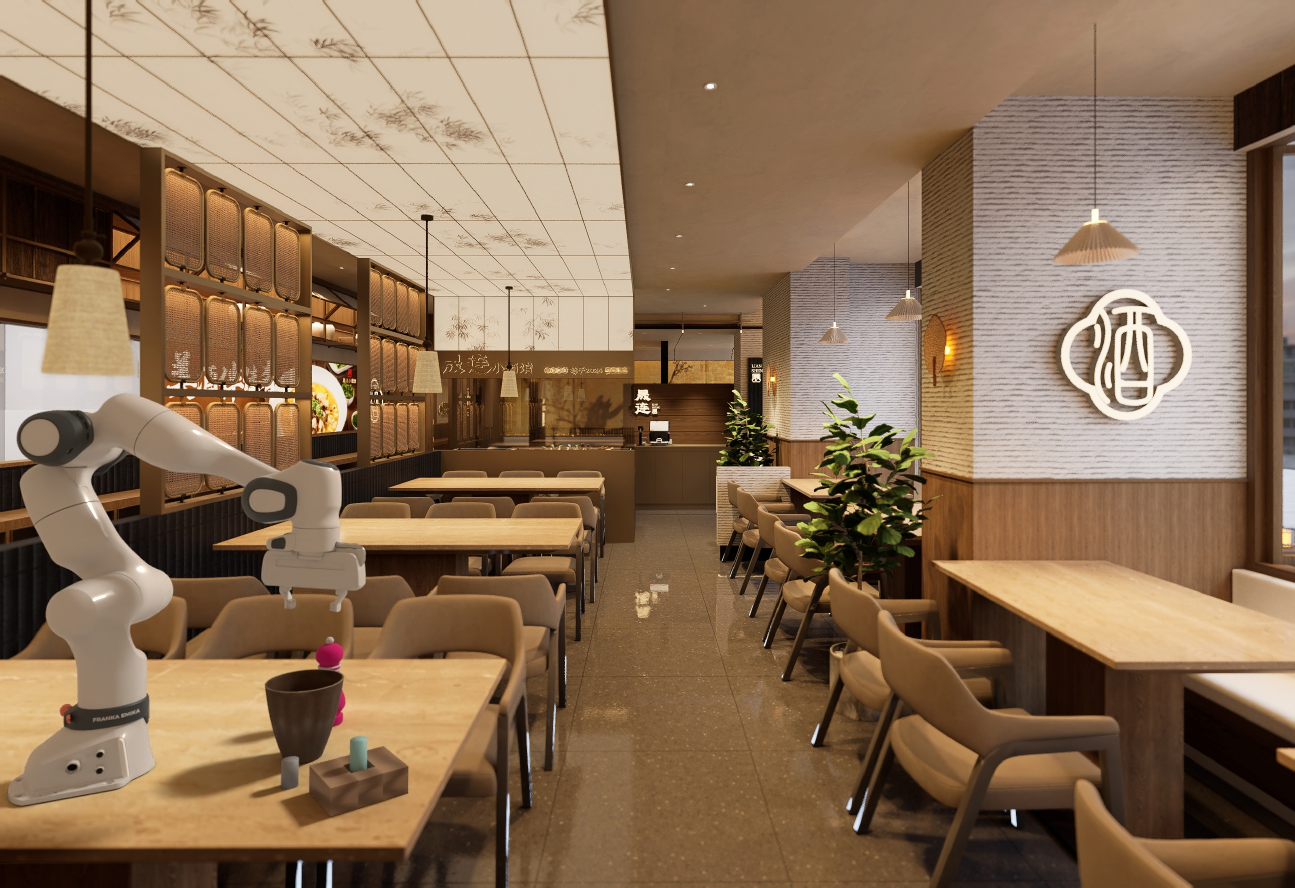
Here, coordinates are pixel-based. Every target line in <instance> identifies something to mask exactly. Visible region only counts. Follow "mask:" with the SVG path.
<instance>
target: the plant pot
mask: <svg viewBox="0 0 1295 888" xmlns="http://www.w3.org/2000/svg"><path fill="white" fill-rule="evenodd" d="M344 679H345V675H344V674H343V673H342V672H340V671H339V672H338V671H334V670H327V669H318V668H311V669H301V670H293V671H289V672H284V673H281V674H278V675H276V676H273V677H271V678H270V679H268V680H267V681H265V683H264V688H265V697H266V698H265V699H266V705H267V711H268V715H269V722H270V725H271V728H272V732H273V735H274V738H275V742H276V744H277V747H278V750H279V752H280V755H281V757H282V759H284V758H286V757H290V756H296V757H299V765H300V764H302V765H303V764H306V763H307V764H308V763H310V762H313V761H317V760H319V758H322V755H323V754H324V751H325V749H326V747H327V745H328V741H329V738H330V736H331V733H332V730H333V728H334V726H333V724H334V721H335V718H336V714H337V710H338V706H339V702H340V698H341V692H342V690H343V687H344V681H345V680H344Z"/></svg>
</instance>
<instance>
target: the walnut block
mask: <svg viewBox="0 0 1295 888" xmlns="http://www.w3.org/2000/svg"><path fill="white" fill-rule="evenodd" d="M308 768H309V769H308V771H309V772H308V775H309V777H308V793H309V794H310V795H311V796H312V797H313V799H314V800H315V801H316V802H317V803H318V805H320V807H321V808H322V810H324V811H325V812H326V814H327V815H328V816H329V817H330V818H332V817H336V816H339V815H343V814H345V813H348V812H351V811H354V810H358V809H361V808H364V807H369V806H371V805H374V804H378V803H380V802H381V803H382V802H383V801H387V800H390V799H393V798H397V797H400V796H403V795H406V794H408V793H409V765H407V763H405V762H404V761H403V760H401V759H400V758H399V757H398V756H397V755H395V754H394V753H393V752H392V751H390V750H389V749H388V748H387V747H385V745H382V746H379V747H375V748H370V749H367V769H364V770H361V771H357V772H354V773H350V754H348V755H344V756H340V757H337V758H333V759H328V760H324V761H321V762H318V763H316V762H315V763H314V764H310V765H309V766H308Z"/></svg>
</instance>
